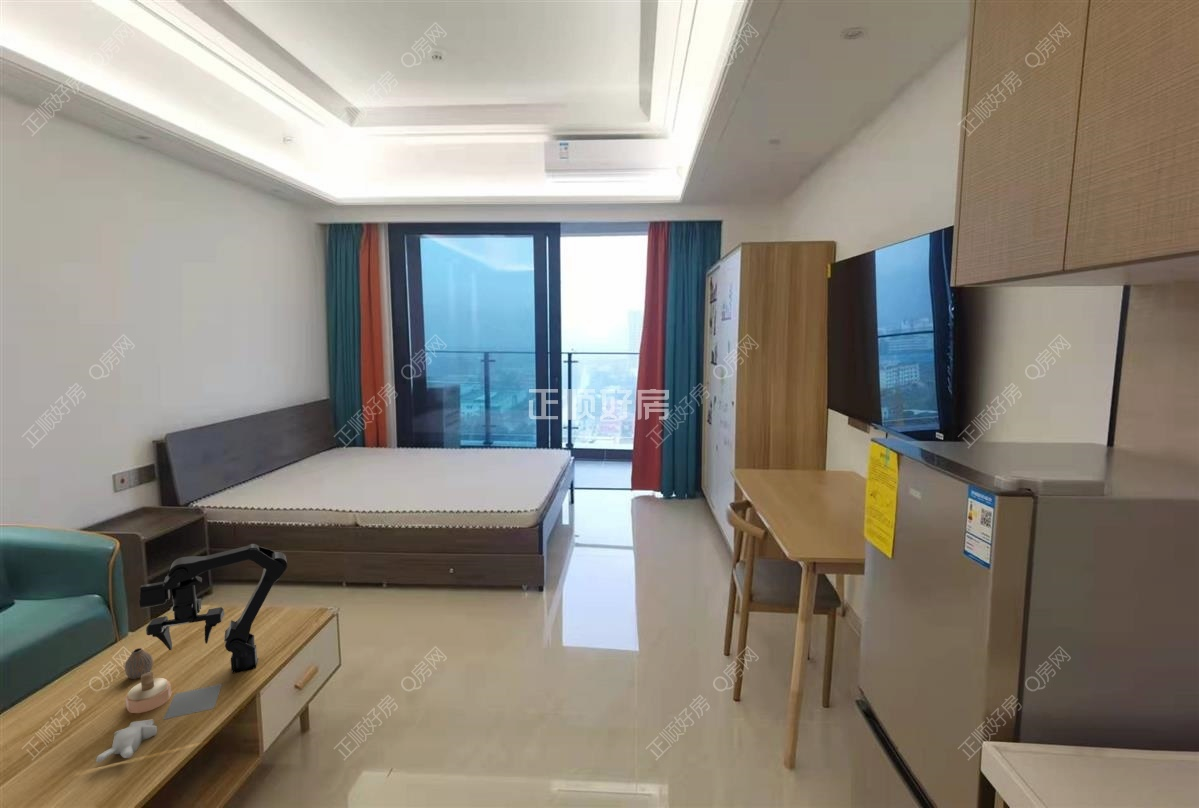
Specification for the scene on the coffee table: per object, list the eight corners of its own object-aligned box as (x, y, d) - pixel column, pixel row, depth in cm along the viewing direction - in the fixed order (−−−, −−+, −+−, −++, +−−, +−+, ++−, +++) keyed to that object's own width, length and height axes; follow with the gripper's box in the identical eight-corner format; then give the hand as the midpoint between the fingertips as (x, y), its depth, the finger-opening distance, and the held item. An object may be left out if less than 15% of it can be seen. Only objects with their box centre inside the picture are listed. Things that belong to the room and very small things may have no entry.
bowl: (175, 688, 170) (174, 676, 169) (165, 709, 161) (163, 696, 160) (134, 696, 165) (133, 684, 165) (122, 718, 156) (120, 705, 156)
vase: (137, 683, 171) (134, 658, 170) (120, 680, 173) (117, 654, 172) (159, 670, 178) (156, 645, 177) (142, 667, 180) (139, 642, 178)
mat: (222, 685, 171) (222, 683, 171) (213, 710, 160) (213, 708, 160) (175, 695, 166) (175, 693, 166) (163, 721, 156) (162, 719, 155)
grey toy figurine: (164, 712, 154) (133, 745, 139) (165, 729, 154) (134, 765, 139) (125, 717, 152) (89, 751, 137) (125, 735, 152) (89, 771, 137)
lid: (171, 678, 168) (169, 663, 168) (162, 696, 160) (160, 680, 159) (134, 685, 165) (132, 670, 164) (123, 704, 156) (121, 688, 156)
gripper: (225, 582, 180) (229, 627, 182) (155, 593, 173) (160, 639, 175) (218, 598, 170) (222, 644, 172) (143, 609, 162) (148, 658, 165)
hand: (189, 646), depth 171 cm, fingers open, 9 cm apart
